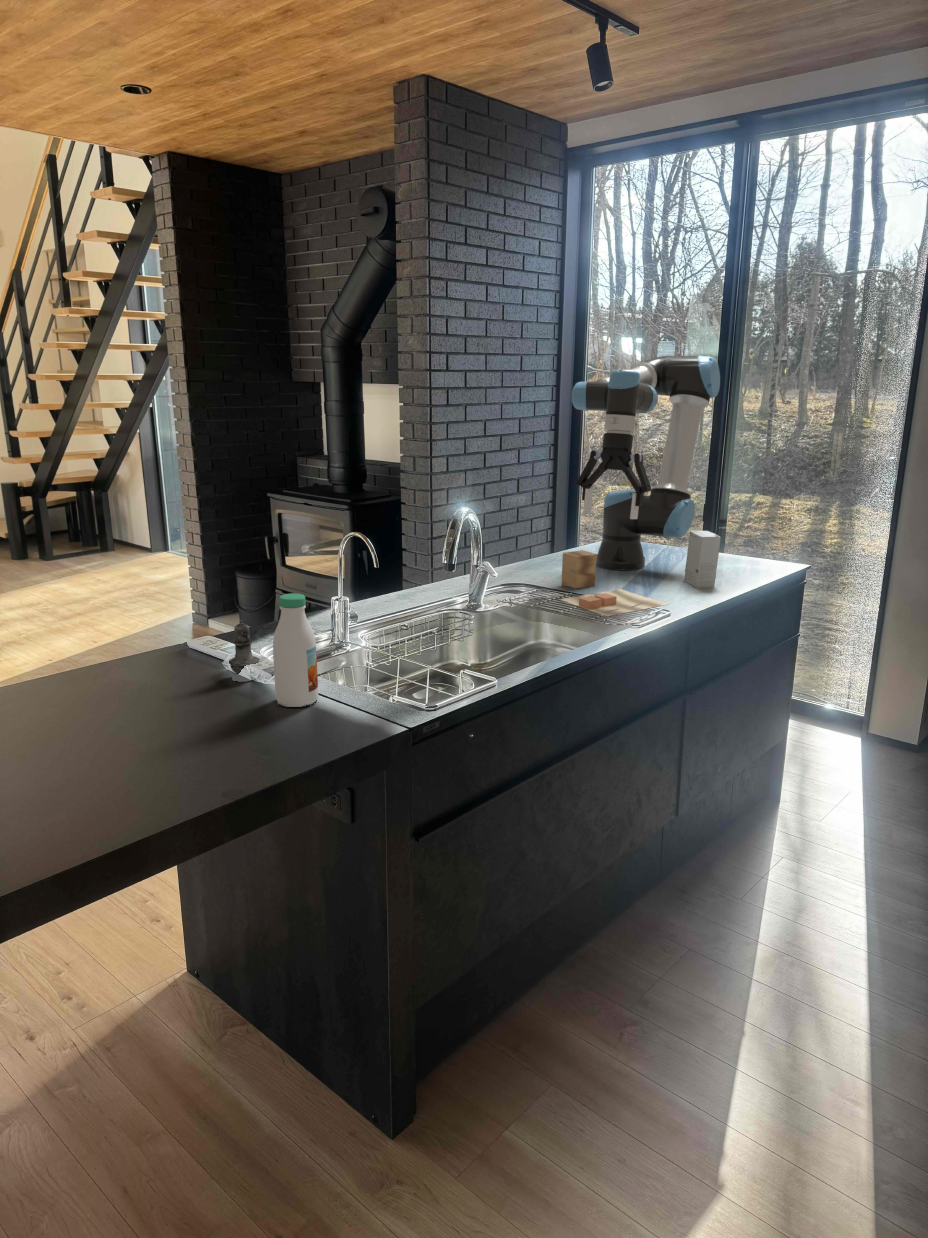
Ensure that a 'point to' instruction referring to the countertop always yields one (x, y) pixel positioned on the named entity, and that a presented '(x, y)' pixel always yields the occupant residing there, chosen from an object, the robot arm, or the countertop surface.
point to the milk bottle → (294, 654)
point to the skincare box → (702, 559)
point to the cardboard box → (578, 569)
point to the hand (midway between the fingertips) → (609, 516)
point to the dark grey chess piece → (242, 648)
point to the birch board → (620, 603)
